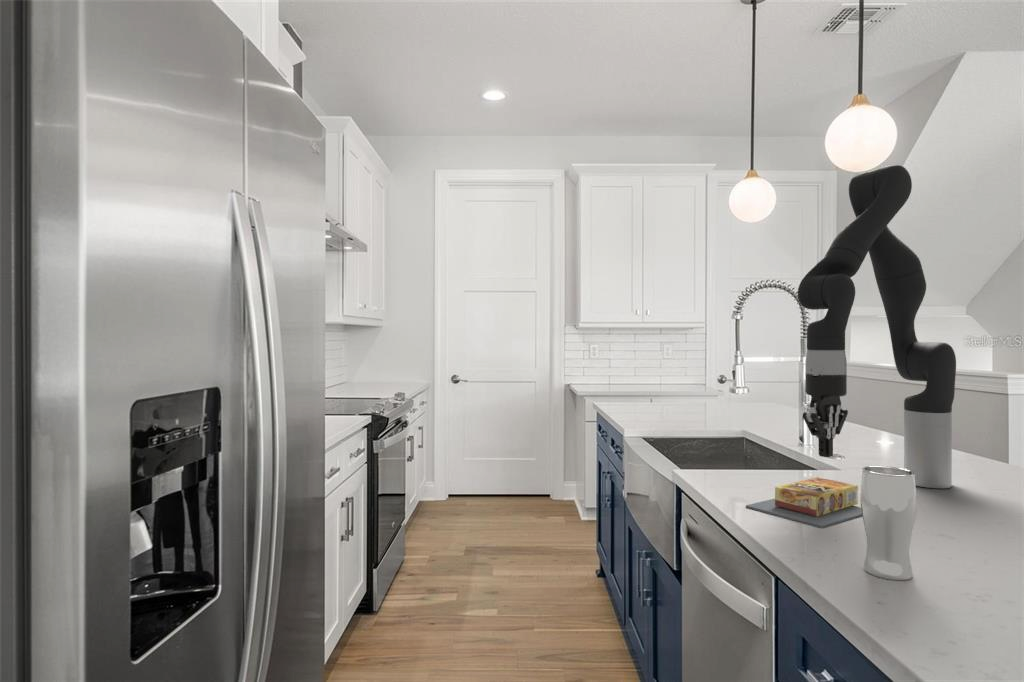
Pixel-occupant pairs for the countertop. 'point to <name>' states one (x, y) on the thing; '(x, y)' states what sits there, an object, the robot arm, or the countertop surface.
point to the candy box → (816, 496)
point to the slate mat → (818, 521)
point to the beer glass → (888, 520)
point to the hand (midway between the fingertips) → (825, 456)
